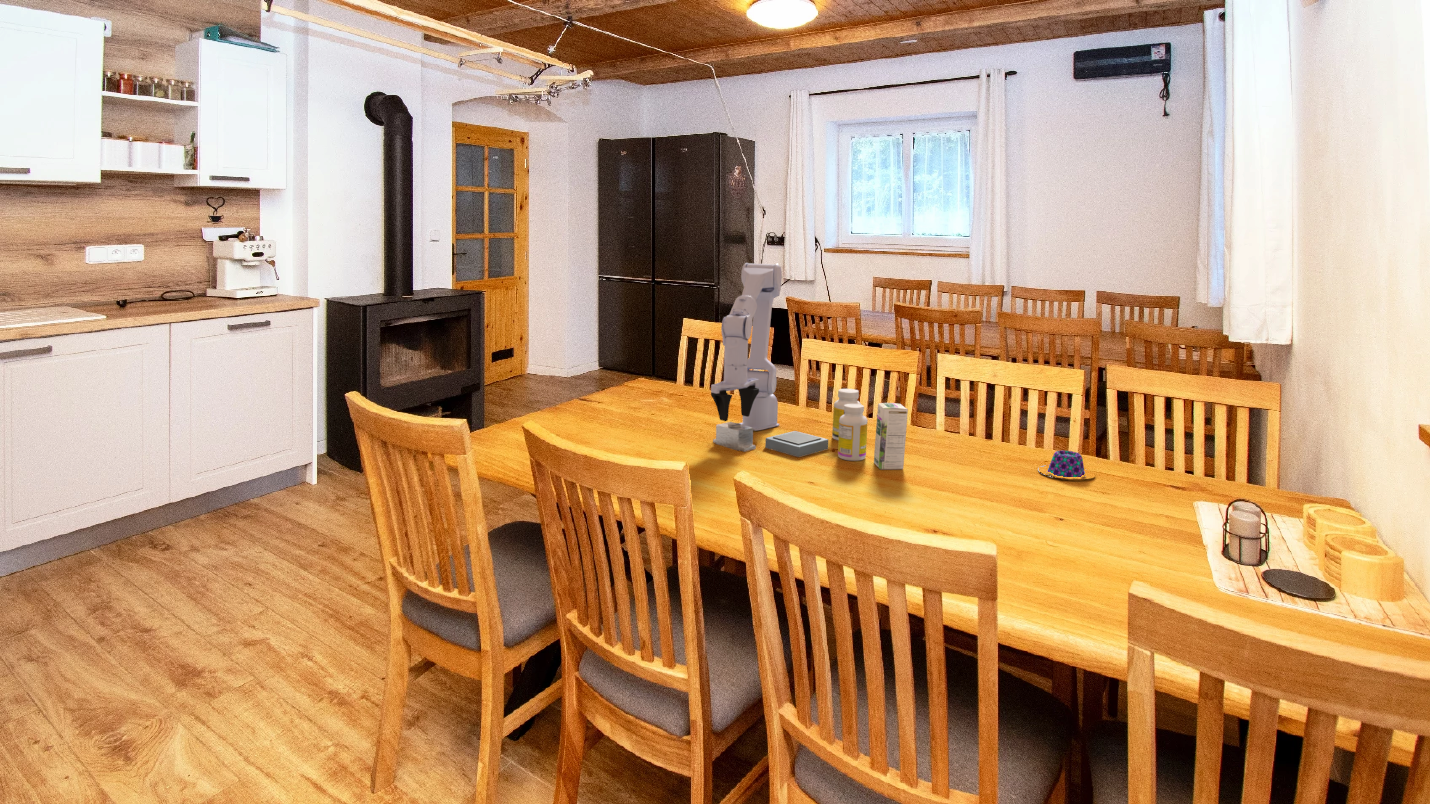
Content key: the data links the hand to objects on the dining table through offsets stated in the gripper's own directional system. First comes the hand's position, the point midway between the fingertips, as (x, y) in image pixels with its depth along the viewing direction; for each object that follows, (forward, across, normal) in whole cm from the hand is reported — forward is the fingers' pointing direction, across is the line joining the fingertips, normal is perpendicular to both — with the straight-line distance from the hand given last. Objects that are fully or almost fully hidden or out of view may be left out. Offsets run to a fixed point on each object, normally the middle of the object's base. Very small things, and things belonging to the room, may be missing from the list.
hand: (734, 418), depth 209 cm
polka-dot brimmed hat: (+8, +41, -66) cm, 78 cm away
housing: (+7, 0, 0) cm, 7 cm away
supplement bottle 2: (+7, +14, -26) cm, 30 cm away
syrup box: (+7, +15, -36) cm, 40 cm away
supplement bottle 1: (+7, +27, -14) cm, 31 cm away
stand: (+7, +10, -12) cm, 17 cm away
